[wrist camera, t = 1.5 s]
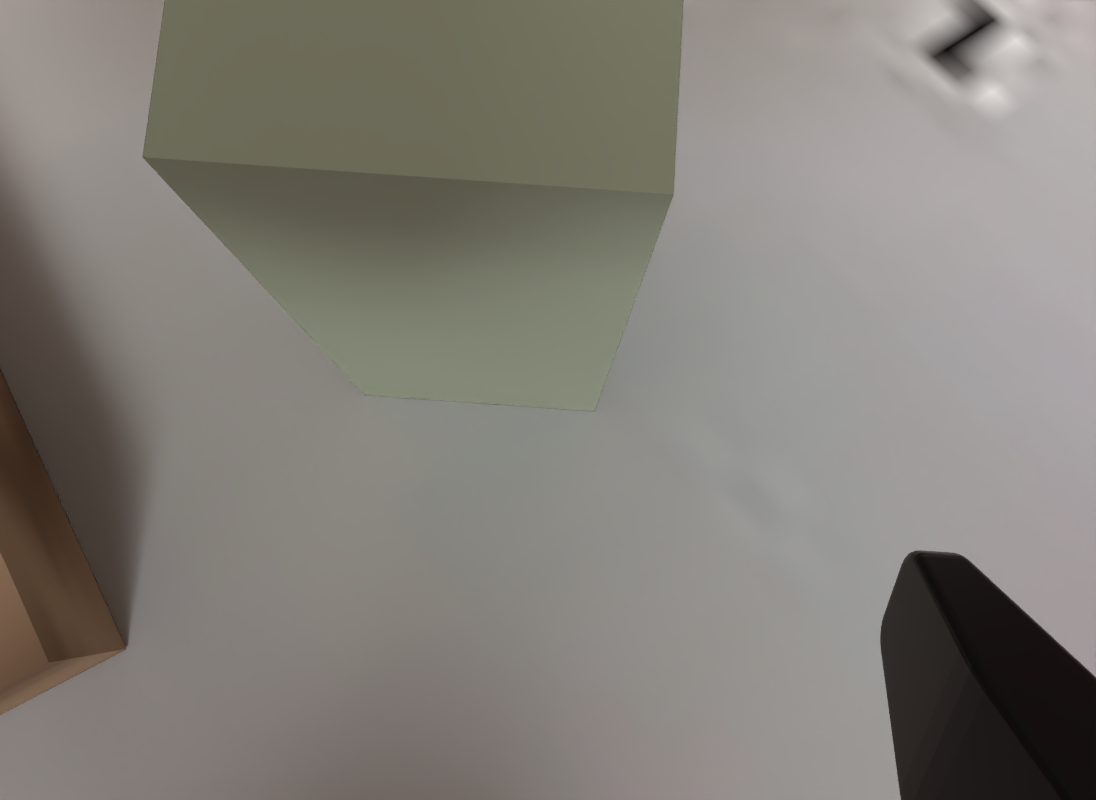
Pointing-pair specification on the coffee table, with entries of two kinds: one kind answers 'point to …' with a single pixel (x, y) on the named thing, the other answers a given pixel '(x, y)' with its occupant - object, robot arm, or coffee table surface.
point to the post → (431, 177)
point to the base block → (42, 577)
